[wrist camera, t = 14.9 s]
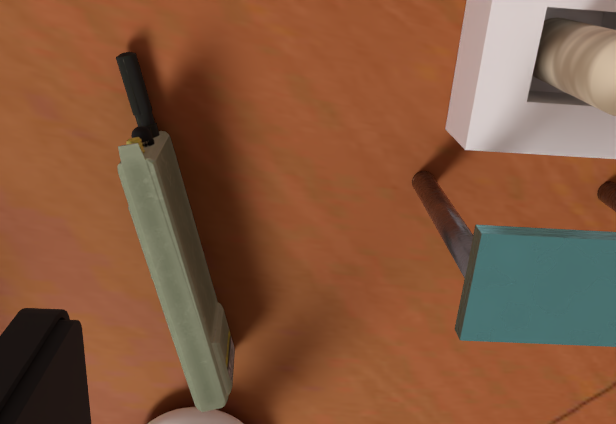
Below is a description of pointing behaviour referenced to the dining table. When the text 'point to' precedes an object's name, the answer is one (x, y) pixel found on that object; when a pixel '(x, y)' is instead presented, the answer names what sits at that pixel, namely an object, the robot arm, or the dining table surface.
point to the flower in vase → (195, 417)
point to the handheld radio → (174, 249)
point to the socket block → (523, 83)
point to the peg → (579, 61)
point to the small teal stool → (529, 277)
